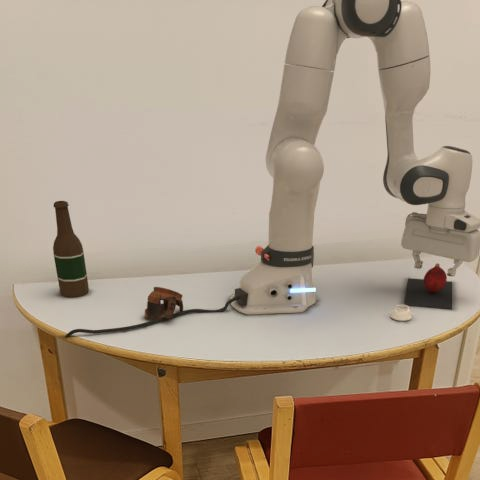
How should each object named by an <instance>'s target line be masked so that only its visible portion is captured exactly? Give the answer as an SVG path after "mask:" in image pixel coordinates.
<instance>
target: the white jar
mask: <svg viewBox="0 0 480 480" xmlns="http://www.w3.org/2000/svg"><path fill="white" fill-rule="evenodd" d="M390 317H391V318H392V319H393V320H395V321H399V322H406V321H409V320H411V319H412V317H413V314H412V312H411V309H410V306H407V305H404V304H397V305H395V308H394V309H393V310H392V311H391V313H390Z"/></svg>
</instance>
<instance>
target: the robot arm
mask: <svg viewBox="0 0 480 480" xmlns="http://www.w3.org/2000/svg"><path fill="white" fill-rule="evenodd" d="M350 38H351V39H361V38H368V39H369V40H370V41H371V43H372V44H373V47H374V50H375V53H376V61H377V63H376V64H377V69H378V70H377V71H378V78H379V87H380V91H381V96H382V97H381V98H382V102H383V109H384V119H385V120H384V122H385V132H386V133H385V135H386V137H385V138H386V150H387V158H386V163H385V166H384V167H385V168H384V171H383V175H382V183H383V187H384V190H385V191H386V192H387V194H388V195H390V196H391V197H393V198H396V199H399V200H400V201H402V202H404V203H406V204H407V205H411V206H421V205H427V209H426V213H419V212H417V211H414V212H413V211H412V212H411V213H409V214H407V216H406V217H405V223H404V226H405V227H404V230H403V233H402V237H401V241H400V244H401V247H402V249H404V250H409V251H412V253H411V255H412V258H413V261H414V266H413V268H414V269H419V270H421V269H422V268H423V264H424V261H423V260H421V257H420V254H422V253H423V254H428V255H432V256H437V257H442V258H446V259H451V260H453V264H454V265H453V266H452V267H449V268H447V273H446V276H447V277H455V276H456V273H457V270H458V268H459V267H461V265H462V264H463V262H464V263H472V262H474V261H476V260H477V259H478V258H479V254H480V230H479V229H480V218H479V217H477V216H475V215H473V214H471V213H470V212H469V211H467V210H466V196H467V193H468V191H469V188H470V184H471V180H472V179H471V178H472V171H473V155H472V154H471V152H470V151H468V150H467V149H463V148H459V147H456V146H452V145H444V146H441V147H440V148H439V149H438V150H436V151H435V152H434V153H431V154H430V155H428V156H426V157H423V158H421V159H419V158H418V157H417V155H416V153H415V149H414V127H413V124H414V123H413V119H414V118H413V117H414V113H415V111H416V107H418V105H419V103H420V102H421V101H422V100H423V99H424V97H425V96H426V95H427V93H428V91H429V89H430V83H431V56H430V55H431V54H430V45H429V38H428V32H427V27H426V23H425V19H424V15H423V12H422V9H421V7H420V6H419V5H418V4H417V3H416V2H412V1H409V0H325V1H324V3H323V4H322V6H321V5H311V6H308V7H305V8H304V9H302V10H300V12H298V14H297V16H296V17H295V21H294V23H293V25H292V28H291V31H290V35H289V40H288V44H287V48H286V54H285V58H284V64H283V70H282V71H283V72H282V77H281V78H282V79H281V85H280V90H279V98H278V103H277V107H276V112H275V115H274V119H273V123H272V128H271V131H270V136H269V140H268V145H267V149H266V152H265V165H266V167H265V168H266V170H267V171H268V174H269V175H270V176H271V178H272V180H273V182H272V183H273V186H272V195H271V202H270V209H269V212H268V243H267V244H268V245H267V246H266V247H264V248H263V247H262V246H260V245H257V246H256V248H255V250H254V251H255V253H256V254H257V255H258V256H260V261H259V262H258V263H257V264H256V265H254V267H253V266H252V268H251V269H250V270H249V271H247V272H246V273H245V274H243V275H242V276H241V278H240V281H239V285H238V288H234V293H232V294H231V295H230V297H229V300H228V301H226V303H225V304H224V306H223V307H222V308H219V309H204V308H192V309H186V310H183V311H181V312H180V311H178V312H174V314H173V317H172V318H176V317H179V316H182V315H187V314H191V313H201V314H202V313H203V314H205V313H207V314H208V313H210V314H211V313H222V312H225V311H226V310H227V309H228V308H229V306H230V305H231V306H232V308H233V309H235V310H236V311H237V312H239V313H241V314H244V315H266V314H292V313H294V314H295V313H296V314H297V313H303V312H305V311H306V310H307V308H309V307H312V306H313V305H314V304H315V303H317V299H316V295H315V292H316V289H317V288H316V287H314V281H313V267H314V261H315V246H314V245H313V242H314V241H313V240H314V238H313V237H314V222H315V212H316V206H317V201H318V198H319V192H320V186H321V181H322V179H323V176H324V172H325V166H324V165H325V164H324V161H323V157H322V154H321V152H320V150H319V149H318V148H317V147H316V146H315V145H316V141H317V138H318V134H319V132H320V128H321V125H322V123H323V120H324V118H325V116H326V114H327V112H328V108H329V101H330V96H331V90H332V85H333V81H334V75H335V70H336V63H337V56H338V54H339V52H340V48H341V46H342V44H343V43H344V41H345V40H346V39H350ZM172 318H169V319H166V318H165V317H164V316H162V318H161V319H155V320H149V321H146V322H141V323H138V324H133V325H129V326H128V325H127V326H122V327H114V328H103V329H87V328H76V329H72V330H70V331H69V332H68V333H66V335H65V336H64V338H70V337H71V336H72V335H75V334H78V333H83V334H95V335H96V334H105V333H116V332H124V331H130V330H134V329H140V328H145V327H146V326H151V325H153V324H157V323H161V322H164V321H166V320H170V319H172ZM160 321H161V322H160Z"/></svg>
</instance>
